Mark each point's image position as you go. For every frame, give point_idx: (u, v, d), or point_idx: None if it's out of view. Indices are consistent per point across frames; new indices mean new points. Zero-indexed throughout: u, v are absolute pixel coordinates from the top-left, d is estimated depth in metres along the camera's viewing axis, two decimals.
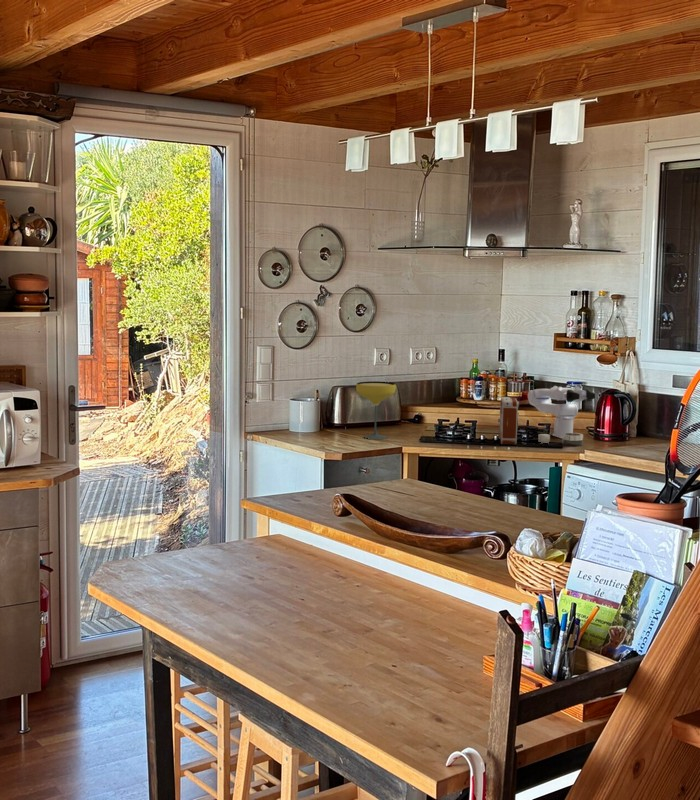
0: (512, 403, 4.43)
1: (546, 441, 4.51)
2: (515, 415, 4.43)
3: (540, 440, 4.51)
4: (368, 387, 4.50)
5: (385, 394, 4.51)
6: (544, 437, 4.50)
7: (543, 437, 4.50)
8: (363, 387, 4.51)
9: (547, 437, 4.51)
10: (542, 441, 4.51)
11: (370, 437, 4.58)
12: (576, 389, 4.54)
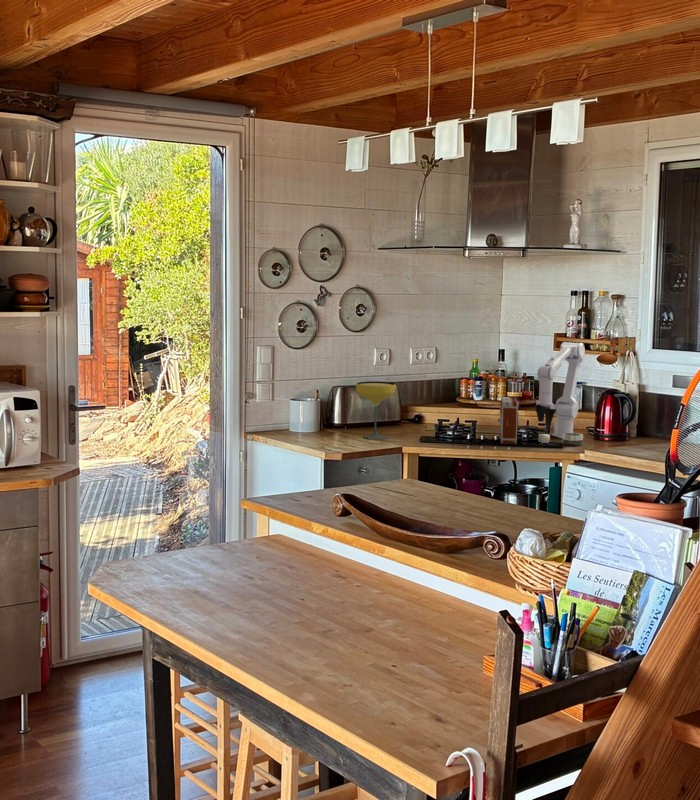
0: (512, 403, 4.43)
1: (546, 441, 4.51)
2: (515, 415, 4.43)
3: (540, 440, 4.51)
4: (368, 387, 4.50)
5: (385, 394, 4.51)
6: (544, 437, 4.50)
7: (543, 437, 4.50)
8: (363, 387, 4.51)
9: (547, 437, 4.51)
10: (542, 441, 4.51)
11: (370, 437, 4.58)
12: (539, 404, 4.50)
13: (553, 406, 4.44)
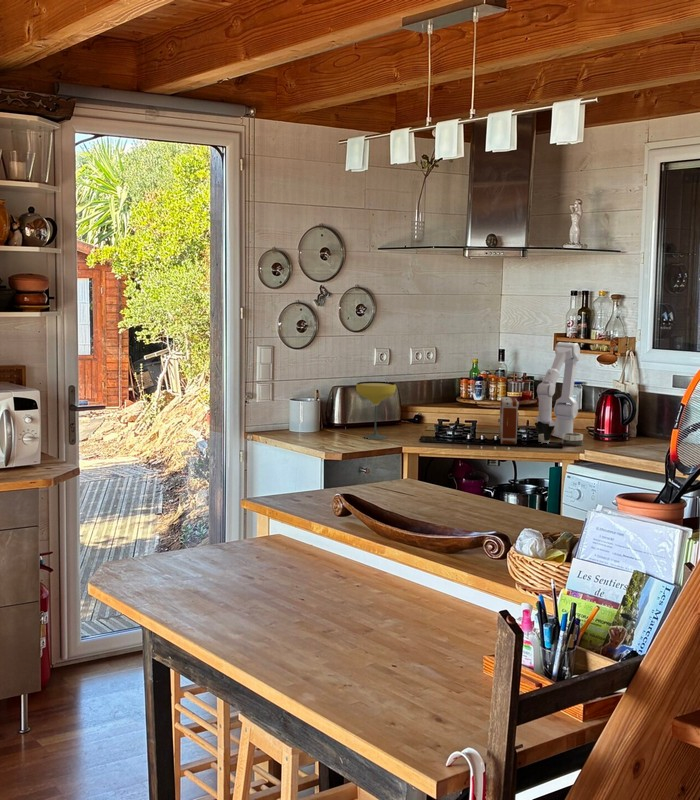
0: (512, 403, 4.43)
1: (546, 441, 4.51)
2: (515, 415, 4.43)
3: (540, 440, 4.51)
4: (368, 387, 4.50)
5: (385, 394, 4.51)
6: None
7: (543, 437, 4.50)
8: (363, 387, 4.51)
9: None
10: (542, 441, 4.51)
11: (370, 437, 4.58)
12: (538, 420, 4.52)
13: (552, 423, 4.45)
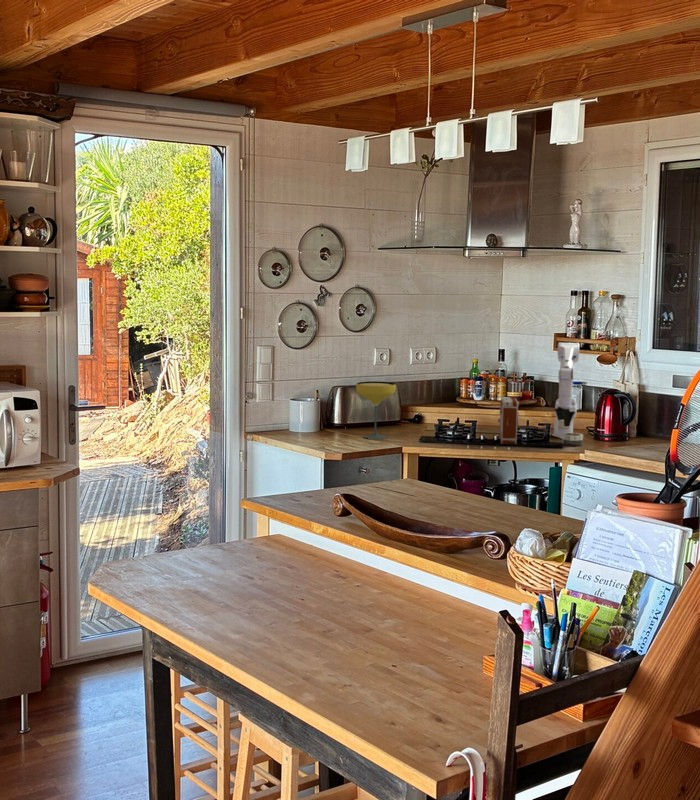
0: (512, 403, 4.43)
1: (566, 427, 4.47)
2: (515, 415, 4.43)
3: (560, 426, 4.48)
4: (368, 387, 4.50)
5: (385, 394, 4.51)
6: None
7: (563, 423, 4.47)
8: (363, 387, 4.51)
9: None
10: (562, 427, 4.47)
11: (370, 437, 4.58)
12: None
13: (573, 408, 4.41)
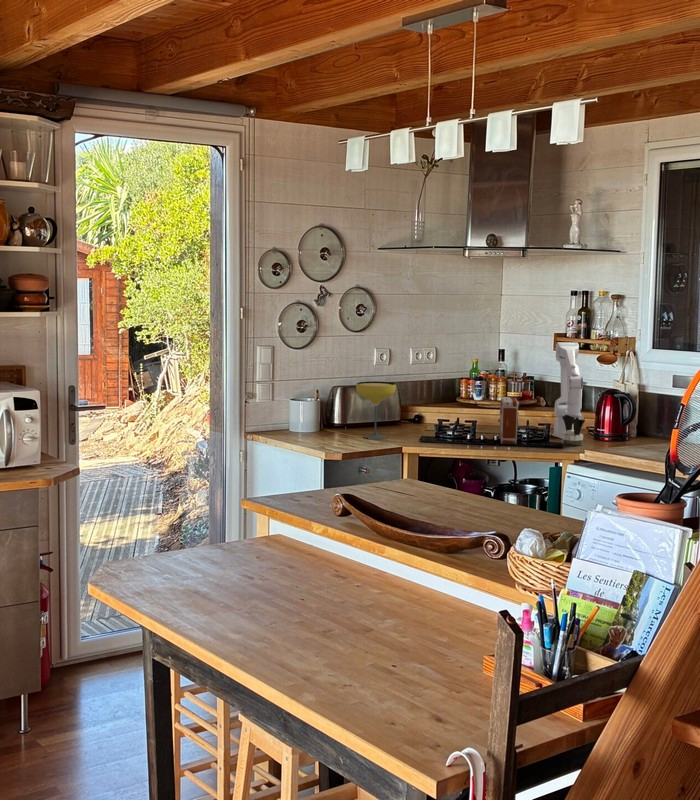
0: (512, 403, 4.43)
1: None
2: (515, 415, 4.43)
3: None
4: (368, 387, 4.50)
5: (385, 394, 4.51)
6: (572, 433, 4.46)
7: (571, 433, 4.46)
8: (363, 387, 4.51)
9: None
10: None
11: (370, 437, 4.58)
12: None
13: (582, 417, 4.40)
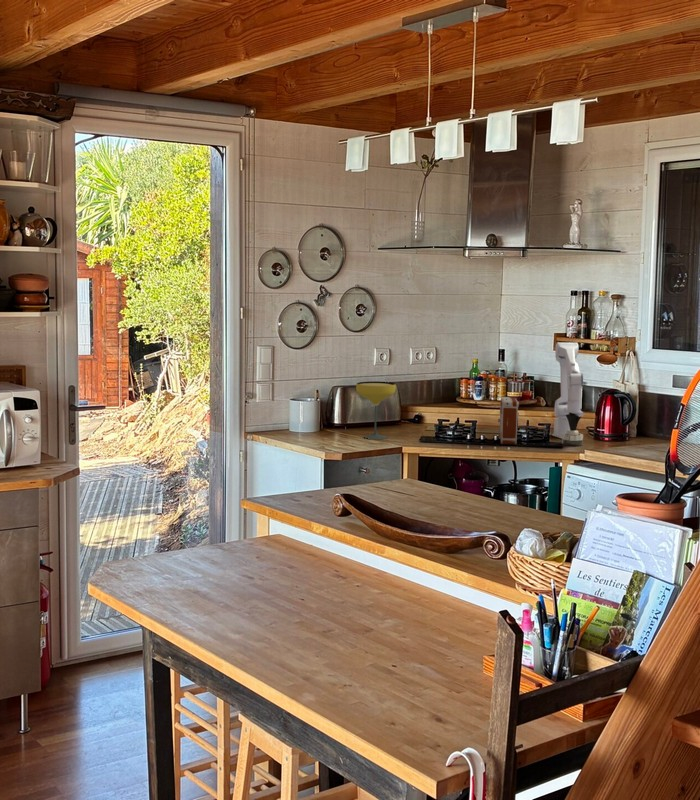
0: (512, 403, 4.43)
1: None
2: (515, 415, 4.43)
3: None
4: (368, 387, 4.50)
5: (385, 394, 4.51)
6: (572, 433, 4.46)
7: (571, 433, 4.46)
8: (363, 387, 4.51)
9: (575, 433, 4.46)
10: None
11: (370, 437, 4.58)
12: (567, 411, 4.47)
13: (582, 414, 4.40)
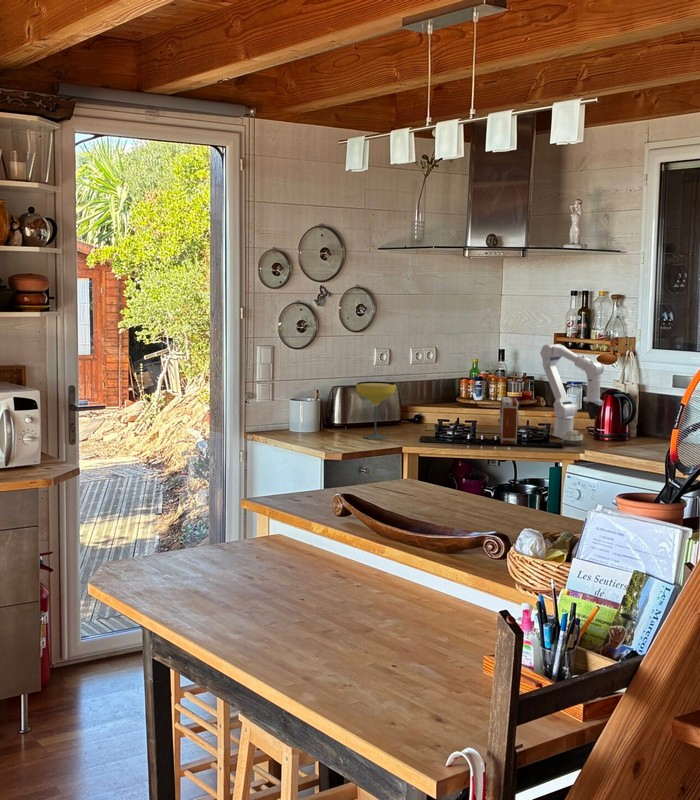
0: (512, 403, 4.43)
1: None
2: (515, 415, 4.43)
3: None
4: (368, 387, 4.50)
5: (385, 394, 4.51)
6: (572, 433, 4.46)
7: (571, 433, 4.46)
8: (363, 387, 4.51)
9: (576, 433, 4.46)
10: None
11: (370, 437, 4.58)
12: (587, 400, 4.53)
13: (601, 402, 4.46)
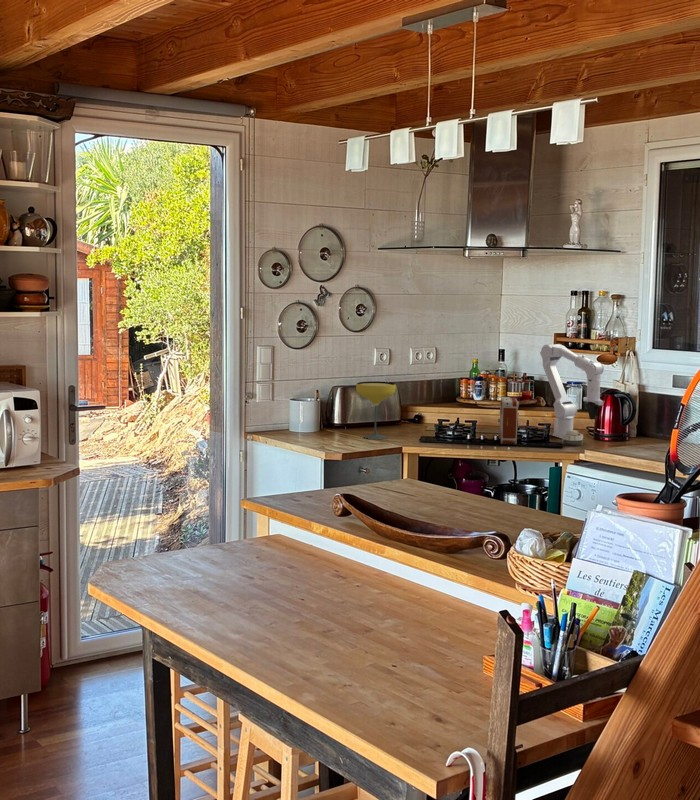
0: (512, 403, 4.43)
1: None
2: (515, 415, 4.43)
3: None
4: (368, 387, 4.50)
5: (385, 394, 4.51)
6: (572, 433, 4.46)
7: (571, 433, 4.46)
8: (363, 387, 4.51)
9: (575, 433, 4.46)
10: None
11: (370, 437, 4.58)
12: (587, 400, 4.53)
13: (601, 402, 4.46)
